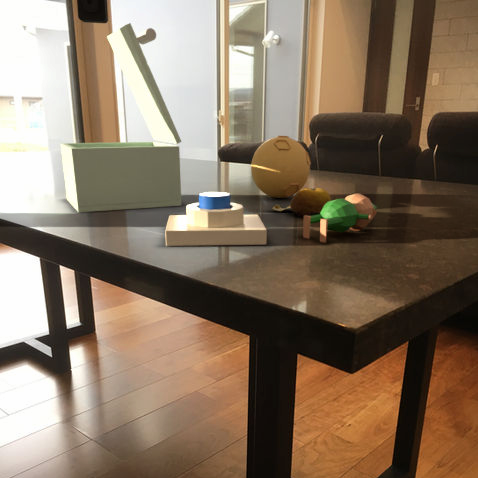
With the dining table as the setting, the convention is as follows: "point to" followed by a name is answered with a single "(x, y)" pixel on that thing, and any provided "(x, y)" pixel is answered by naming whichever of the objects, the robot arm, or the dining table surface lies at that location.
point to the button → (214, 200)
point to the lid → (143, 81)
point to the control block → (215, 227)
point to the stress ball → (280, 167)
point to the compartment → (121, 175)
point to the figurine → (342, 216)
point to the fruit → (307, 202)
